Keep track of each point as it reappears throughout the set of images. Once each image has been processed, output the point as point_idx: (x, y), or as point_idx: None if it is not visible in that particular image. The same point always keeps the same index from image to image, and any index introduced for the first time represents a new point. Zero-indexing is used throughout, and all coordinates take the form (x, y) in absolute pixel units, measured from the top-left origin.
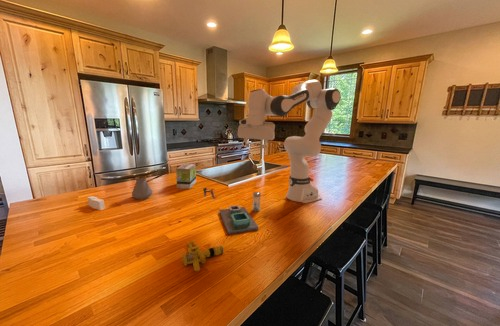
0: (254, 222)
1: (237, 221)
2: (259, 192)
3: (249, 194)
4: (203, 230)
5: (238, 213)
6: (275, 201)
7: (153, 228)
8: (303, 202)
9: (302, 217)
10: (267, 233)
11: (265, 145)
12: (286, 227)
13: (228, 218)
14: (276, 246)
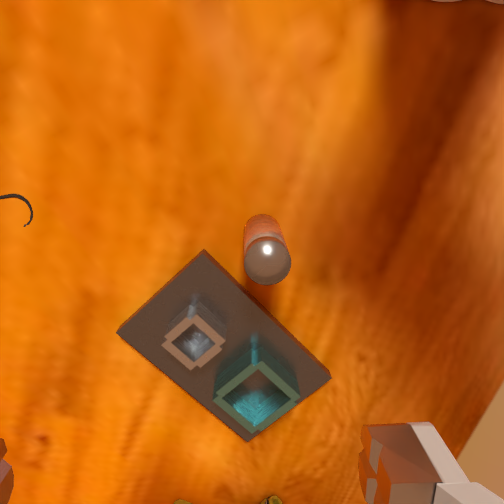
0: (306, 359)
1: (264, 428)
2: (277, 244)
3: (121, 26)
4: (159, 446)
5: (237, 380)
6: (323, 65)
7: (11, 498)
8: (500, 2)
9: (488, 202)
10: (366, 376)
11: (459, 468)
12: (425, 313)
13: (199, 376)
14: (408, 422)
